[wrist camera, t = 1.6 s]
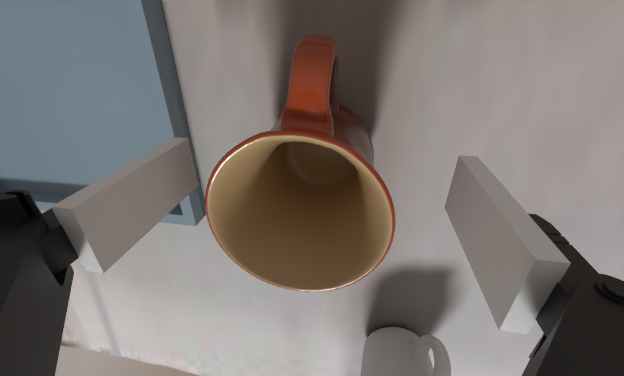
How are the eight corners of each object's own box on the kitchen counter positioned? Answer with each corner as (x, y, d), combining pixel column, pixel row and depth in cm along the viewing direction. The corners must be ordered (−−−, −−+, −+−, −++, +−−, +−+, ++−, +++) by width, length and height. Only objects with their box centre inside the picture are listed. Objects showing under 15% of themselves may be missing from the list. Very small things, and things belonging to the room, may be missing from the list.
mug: (368, 202, 23) (373, 306, 15) (267, 186, 24) (212, 276, 15) (404, 40, 18) (450, 50, 9) (268, 26, 18) (181, 22, 9)
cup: (398, 291, 28) (410, 377, 21) (465, 323, 29) (498, 416, 22) (345, 343, 33) (341, 426, 26) (403, 369, 34) (414, 456, 27)
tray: (9, 194, 30) (-13, 205, 28) (-119, -16, 21) (-163, -21, 19) (206, 213, 27) (196, 225, 25) (155, -23, 18) (133, -28, 16)
